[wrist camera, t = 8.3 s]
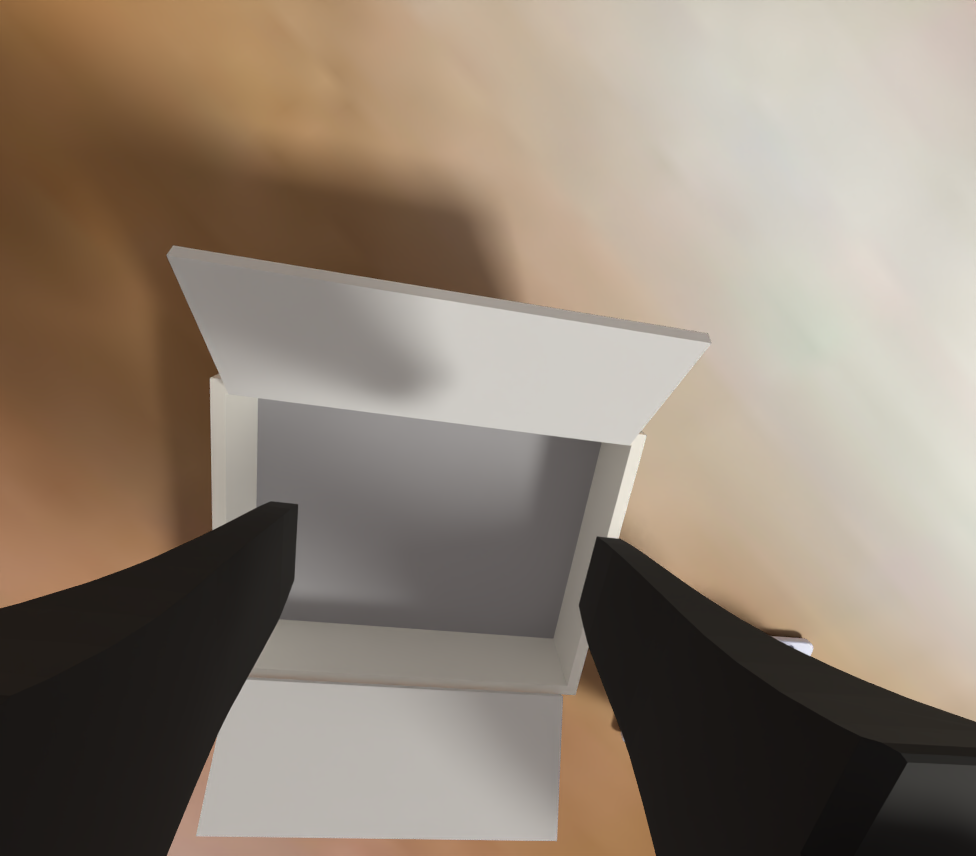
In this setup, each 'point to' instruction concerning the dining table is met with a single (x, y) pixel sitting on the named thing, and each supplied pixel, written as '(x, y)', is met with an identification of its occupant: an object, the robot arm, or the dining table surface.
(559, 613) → the carton
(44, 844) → the robot arm
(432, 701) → the far flap
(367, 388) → the near flap
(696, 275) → the dining table surface
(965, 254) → the dining table surface
